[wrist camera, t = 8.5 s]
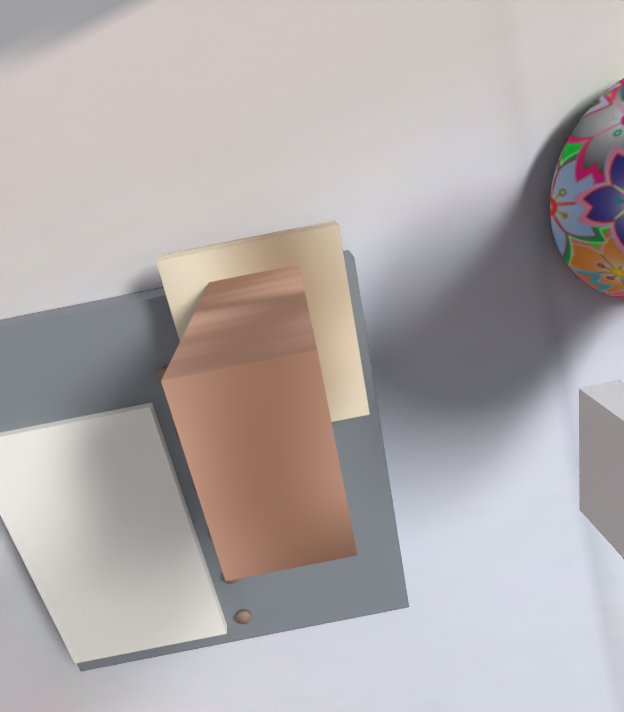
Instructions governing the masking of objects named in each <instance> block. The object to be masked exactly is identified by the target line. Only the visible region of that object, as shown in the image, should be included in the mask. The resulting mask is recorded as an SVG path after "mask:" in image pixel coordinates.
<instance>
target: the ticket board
mask: <svg viewBox="0 0 624 712" xmlns="http://www.w3.org/2000/svg"><path fill="white" fill-rule="evenodd" d="M343 255H344V261H345V267H346V273H347V279H348V285H349V291H350V297H351V303H352V310H353V316H354V322H355V328H356V334H357V340H358V346H359V352H360V358H361V364H362V370H363V377H364V383H365V389H366V395H367V401H368V407H369V413H370V414H369V415H364V416H359V417H354V418H349V419H344V420H339V421H334V422H332V427H333V432H334V437H335V443H336V448H337V453H338V458H339V463H340V468H341V473H342V478H343V483H344V488H345V494H346V499H347V504H348V509H349V514H350V519H351V524H352V529H353V534H354V539H355V545H356V550H357V556H352V557H347V558H342V559H337V560H332V561H327V562H322V563H317V564H312V565H306V566H301V567H296V568H291V569H286V570H281V571H276V572H271V573H266V574H261V575H256V576H250V577H245V578H240V579H235V580H230V581H225V578H224V575H223V572H222V568H221V565H220V562H219V559H218V556H217V553H216V550H215V547H214V544H213V541H212V537H211V534H210V531H209V528H208V525H207V522H206V519H205V516H204V513H203V510H202V506H201V503H200V500H199V497H198V494H197V491H196V488H195V485H194V482H193V479H192V476H191V472H190V469H189V466H188V463H187V460H186V457H185V454H184V451H183V448H182V445H181V441H180V438H179V435H178V432H177V429H176V426H175V423H174V420H173V417H172V414H171V410H170V407H169V404H168V401H167V398H166V395H165V392H164V389H163V386H162V383H161V380H162V378H163V376H164V374H165V372H166V370H167V368H168V366H169V364H170V362H171V360H172V358H173V355H174V353H175V351H176V349H177V347H178V345H179V343H180V340H179V337H178V334H177V330H176V327H175V324H174V320H173V317H172V314H171V310H170V307H169V303H168V300H167V297H166V293H165V290H164V287H163V288H158V289H153V290H148V291H143V292H138V293H133V294H128V295H123V296H117V297H112V298H107V299H102V300H97V301H92V302H87V303H82V304H77V305H72V306H67V307H62V308H57V309H52V310H47V311H42V312H37V313H32V314H27V315H22V316H17V317H12V318H7V319H2V320H0V515H1V517H2V519H3V521H4V523H5V525H6V527H7V529H8V531H9V533H10V535H11V537H12V539H13V541H14V543H15V545H16V547H17V549H18V551H19V553H20V555H21V557H22V559H23V561H24V563H25V565H26V567H27V569H28V571H29V573H30V575H31V577H32V579H33V581H34V583H35V585H36V587H37V589H38V591H39V593H40V595H41V597H42V599H43V601H44V603H45V605H46V607H47V609H48V611H49V613H50V615H51V617H52V619H53V621H54V623H55V625H56V627H57V629H58V631H59V633H60V635H61V637H62V639H63V641H64V643H65V645H66V647H67V649H68V651H69V653H70V655H71V657H72V659H73V661H74V663H77V665H78V667H79V669H80V671H85V670H90V669H96V668H101V667H106V666H111V665H116V664H121V663H126V662H131V661H136V660H142V659H147V658H152V657H157V656H162V655H167V654H172V653H177V652H182V651H187V650H193V649H198V648H203V647H208V646H213V645H218V644H223V643H228V642H233V641H239V640H244V639H249V638H254V637H259V636H264V635H269V634H274V633H279V632H285V631H290V630H295V629H300V628H305V627H310V626H315V625H320V624H325V623H331V622H336V621H341V620H346V619H351V618H356V617H361V616H366V615H371V614H377V613H382V612H387V611H392V610H397V609H402V608H407V607H409V603H408V597H407V591H406V584H405V578H404V571H403V565H402V559H401V552H400V546H399V540H398V533H397V527H396V520H395V514H394V508H393V501H392V495H391V489H390V482H389V476H388V469H387V463H386V457H385V450H384V444H383V438H382V431H381V425H380V418H379V412H378V406H377V399H376V393H375V387H374V380H373V374H372V367H371V361H370V355H369V348H368V342H367V336H366V329H365V323H364V316H363V310H362V304H361V297H360V291H359V285H358V278H357V272H356V265H355V259H354V257H353V255H352V254H351V253H350V251H349V250H348V251H343Z"/></svg>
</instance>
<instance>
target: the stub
mask: <svg viewBox="0 0 624 712" xmlns="http://www.w3.org/2000/svg"><path fill="white" fill-rule="evenodd" d="M156 263H157V267H158V270H159V273H160V277H161V280H162V283H163V287H164V290H165V293H166V297H167V300H168V303H169V307H170V310H171V314H172V317H173V320H174V324H175V327H176V330H177V334H178V337H179V340H180V343H179V345H178V347H177V349H176V351H175V353H174V355H173V358H172V360H171V362H170V364H169V366H168V368H167V370H166V372H165V374H164V376H163V378H162V380H161V383H162V386H163V389H164V392H165V395H166V398H167V401H168V404H169V407H170V410H171V414H172V417H173V420H174V423H175V426H176V429H177V432H178V435H179V438H180V441H181V445H182V448H183V451H184V454H185V457H186V460H187V463H188V466H189V469H190V472H191V476H192V479H193V482H194V485H195V488H196V491H197V494H198V497H199V500H200V503H201V506H202V510H203V513H204V516H205V519H206V522H207V525H208V528H209V531H210V534H211V537H212V541H213V544H214V547H215V550H216V553H217V556H218V559H219V562H220V565H221V568H222V572H223V575H224V578H225V581H230V580H235V579H240V578H245V577H250V576H256V575H261V574H266V573H271V572H276V571H281V570H286V569H291V568H296V567H301V566H306V565H312V564H317V563H322V562H327V561H332V560H337V559H342V558H347V557H352V556H357V550H356V545H355V539H354V534H353V529H352V524H351V519H350V514H349V509H348V504H347V499H346V494H345V488H344V483H343V478H342V473H341V468H340V463H339V458H338V453H337V448H336V443H335V437H334V432H333V427H332V422H334V421H339V420H344V419H349V418H354V417H359V416H364V415H369V414H370V413H369V407H368V401H367V395H366V389H365V383H364V377H363V370H362V364H361V358H360V352H359V346H358V340H357V334H356V328H355V322H354V316H353V310H352V303H351V297H350V291H349V285H348V279H347V273H346V267H345V261H344V255H343V249H342V243H341V236H340V230H339V225H338V224H337V222H336V221H335V220H334V221H329V222H324V223H319V224H314V225H309V226H304V227H299V228H294V229H289V230H284V231H279V232H274V233H269V234H264V235H259V236H254V237H249V238H244V239H239V240H234V241H229V242H224V243H219V244H214V245H209V246H204V247H199V248H194V249H189V250H184V251H179V252H174V253H169V254H164V255H162V256H161V257H160V258H159V259H158V260H157V261H156Z"/></svg>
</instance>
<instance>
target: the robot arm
mask: <svg viewBox="0 0 624 712" xmlns="http://www.w3.org/2000/svg"><path fill="white" fill-rule="evenodd" d="M579 478H580V511H581V512H582V513H583V514H584V515H585V516H586V517H587V518H588V520H589V521H590V522H591V523H592V524H593V525H594V526H595V527H596V528H597V529H598V531H599V532H600V533H601V534H602V535H603V536H604V537H605V538H606V539H607V541H608V542H609V543H610V544H611V545H612V546H613V547H614V548H615V549H616V551H617V552H618V553H619V554H620V555H621V556H622V557H623V558H624V383H623V382H621V381H620V380H618V381H613V382H608V383H604V384H599V385H594V386H589V387H585V388H580V389H579Z"/></svg>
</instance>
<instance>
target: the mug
mask: <svg viewBox="0 0 624 712" xmlns="http://www.w3.org/2000/svg"><path fill="white" fill-rule="evenodd" d="M550 218H551V226H552V231H553V235H554V239H555V242H556V245H557V247H558V249H559V252H560V254H561V255H562V257H563V259H564V261H565V262H566V264H567V265H568V266H569V268H570V269H571V270H572V271H573V272H574V273H575V274H576V275H577V276H578V277H579V278H580V279H581V280H582V281H583V282H584V283H586V284H587V285H589V286H590V287H592V288H593V289H595V290H597V291H599V292H601V293H603V294H606V295H609V296H612V297H617V298H621V299H624V79H622V80H620V81H619V82H618V83H616V84H615V85H614V86H612V87H611V88H610V89H608V90H607V91H606V92H605V93H604V94H603V95H602V96H601V97H600V98H598V99H597V101H596V102H595V103H594V104H593V105H592V106H591V107H590V108H589V109H588V110H587V112H586V113H585V114H584V115H583V117H582V118H581V119H580V121H579V122H578V124H577V125H576V127H575V128H574V130H573V131H572V133H571V135H570V137H569V138H568V140H567V142H566V144H565V146H564V148H563V150H562V153H561V155H560V158H559V160H558V163H557V166H556V170H555V173H554V177H553V182H552V187H551V196H550Z"/></svg>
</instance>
